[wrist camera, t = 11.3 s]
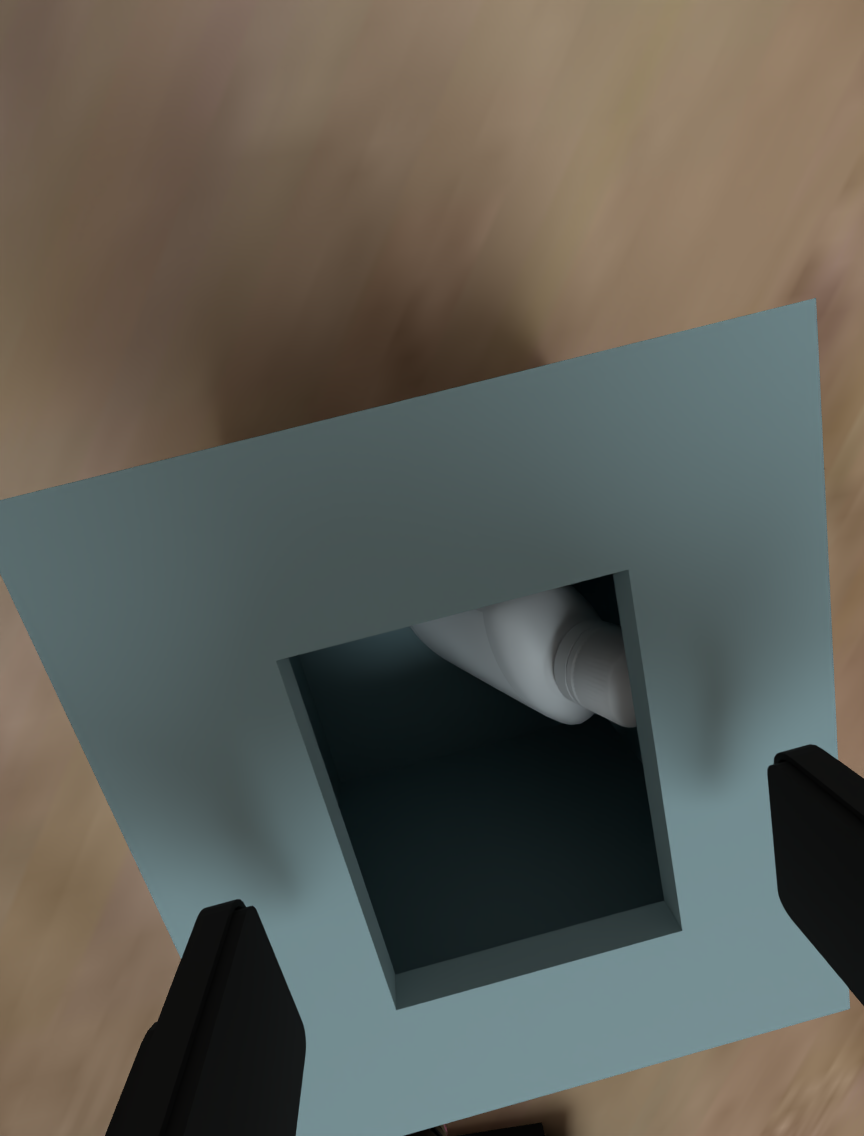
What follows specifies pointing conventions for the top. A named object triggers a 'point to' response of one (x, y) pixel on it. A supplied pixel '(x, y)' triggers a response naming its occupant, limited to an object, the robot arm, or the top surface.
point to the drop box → (469, 711)
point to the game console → (514, 1131)
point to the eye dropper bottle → (541, 654)
